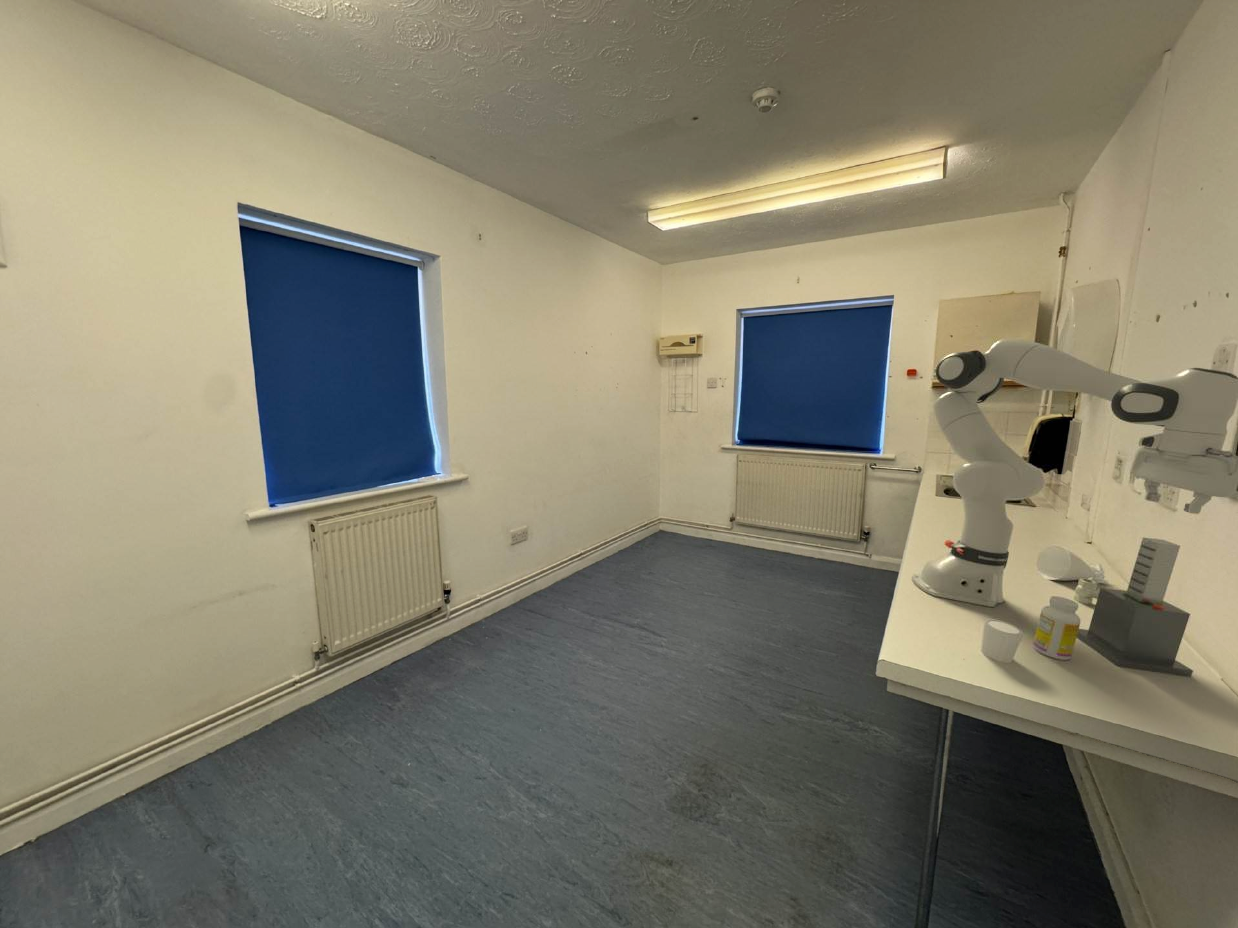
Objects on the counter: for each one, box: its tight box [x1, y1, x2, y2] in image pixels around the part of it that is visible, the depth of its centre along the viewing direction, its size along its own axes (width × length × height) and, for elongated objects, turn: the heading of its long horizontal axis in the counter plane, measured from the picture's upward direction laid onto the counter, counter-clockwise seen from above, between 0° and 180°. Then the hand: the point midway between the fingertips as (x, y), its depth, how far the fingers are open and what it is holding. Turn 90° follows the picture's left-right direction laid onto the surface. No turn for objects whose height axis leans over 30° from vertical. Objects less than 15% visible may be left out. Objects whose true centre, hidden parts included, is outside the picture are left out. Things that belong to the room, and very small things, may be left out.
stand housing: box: [1076, 587, 1194, 678], centre depth 111 cm, size 14×14×14 cm
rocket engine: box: [1035, 544, 1109, 586], centre depth 155 cm, size 12×12×18 cm
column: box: [1125, 537, 1181, 605], centre depth 109 cm, size 4×4×20 cm
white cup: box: [980, 618, 1024, 664], centre depth 107 cm, size 7×7×7 cm
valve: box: [1073, 578, 1100, 605], centre depth 137 cm, size 7×7×12 cm
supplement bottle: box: [1032, 595, 1081, 661], centre depth 109 cm, size 7×7×13 cm
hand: (1170, 506), depth 107 cm, fingers open, 8 cm apart
